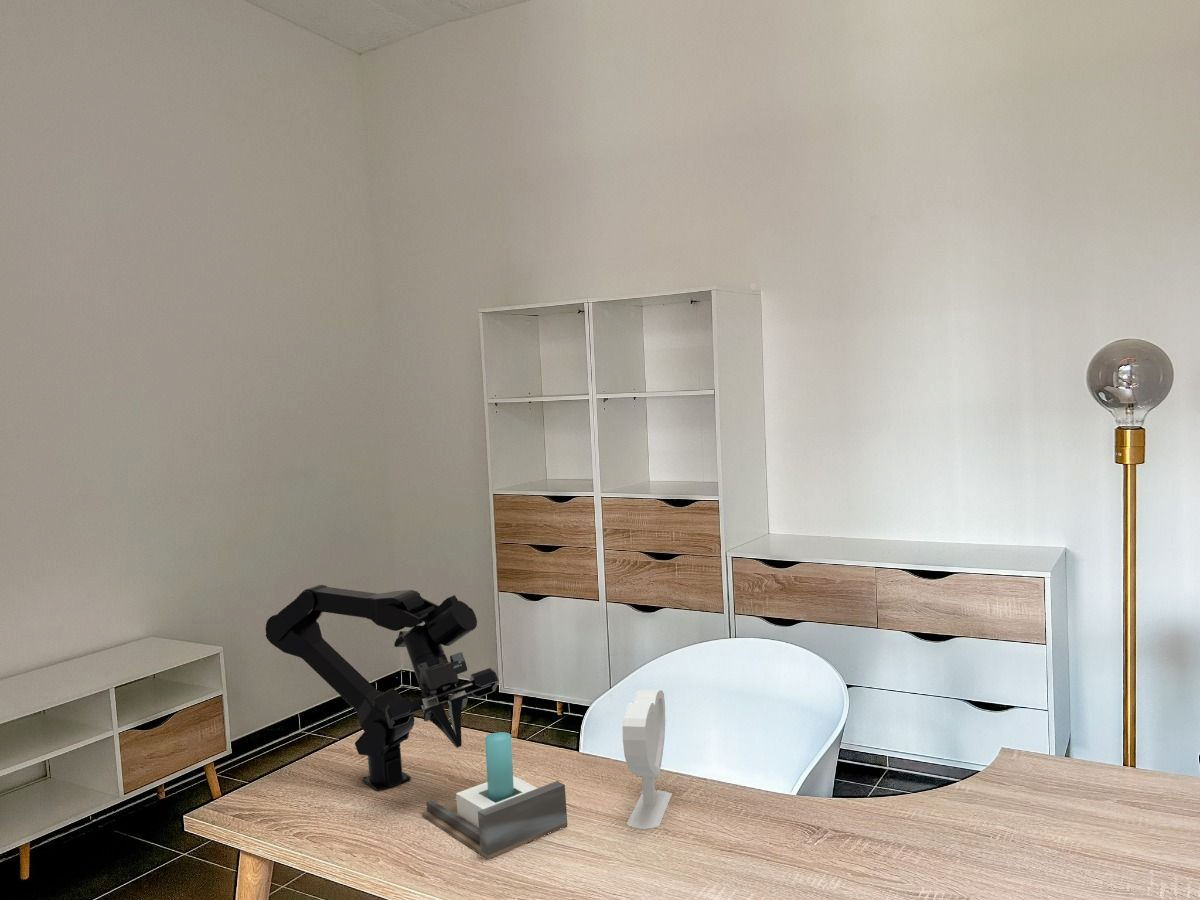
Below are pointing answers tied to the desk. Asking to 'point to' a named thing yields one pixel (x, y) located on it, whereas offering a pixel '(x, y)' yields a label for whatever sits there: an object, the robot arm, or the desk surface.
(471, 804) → the socket block
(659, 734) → the heart sculpture
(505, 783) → the dowel
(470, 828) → the rail board
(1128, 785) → the desk surface
